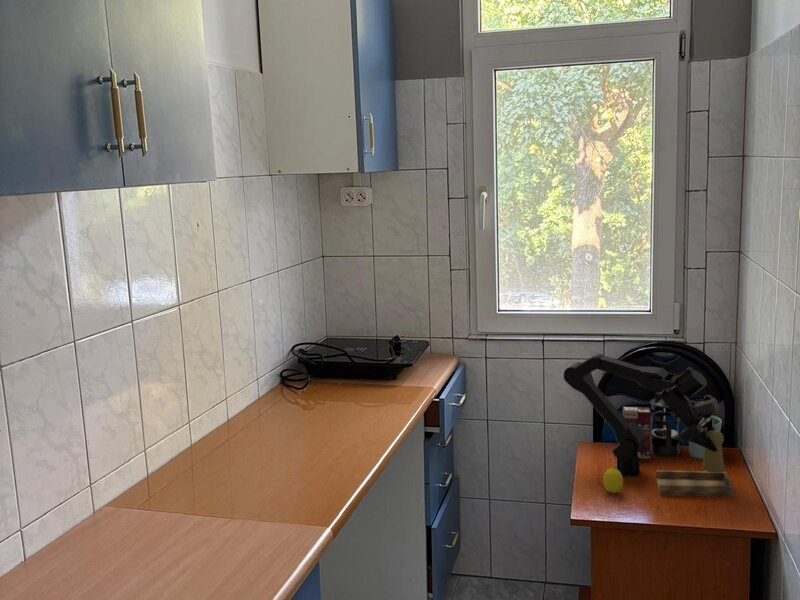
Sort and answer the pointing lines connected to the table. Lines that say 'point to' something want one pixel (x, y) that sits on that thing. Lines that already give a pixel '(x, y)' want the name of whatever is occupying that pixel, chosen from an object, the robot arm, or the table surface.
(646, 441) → the supplement box
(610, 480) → the lemon
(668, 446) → the french press
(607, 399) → the robot arm
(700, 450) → the pale green plant pot
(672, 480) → the track
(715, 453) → the olive pawn figure
